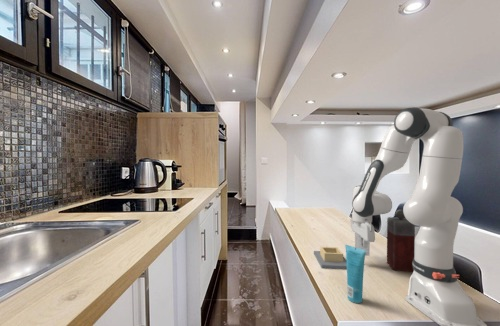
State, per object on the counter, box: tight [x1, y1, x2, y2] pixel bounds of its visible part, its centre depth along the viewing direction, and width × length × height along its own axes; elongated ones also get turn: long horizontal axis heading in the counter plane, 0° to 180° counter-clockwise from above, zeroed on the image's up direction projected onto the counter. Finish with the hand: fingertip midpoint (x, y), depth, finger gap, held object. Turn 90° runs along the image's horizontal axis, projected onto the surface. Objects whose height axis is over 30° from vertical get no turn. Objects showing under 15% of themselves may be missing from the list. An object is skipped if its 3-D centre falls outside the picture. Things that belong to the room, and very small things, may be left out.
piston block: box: [354, 232, 371, 257], centre depth 114 cm, size 5×5×10 cm
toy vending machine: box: [386, 209, 416, 273], centre depth 114 cm, size 9×11×28 cm
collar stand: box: [313, 246, 347, 270], centre depth 119 cm, size 18×14×6 cm
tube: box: [344, 244, 366, 304], centre depth 85 cm, size 7×5×19 cm, turn 47°
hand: (362, 245), depth 114 cm, fingers closed on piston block, 5 cm apart
